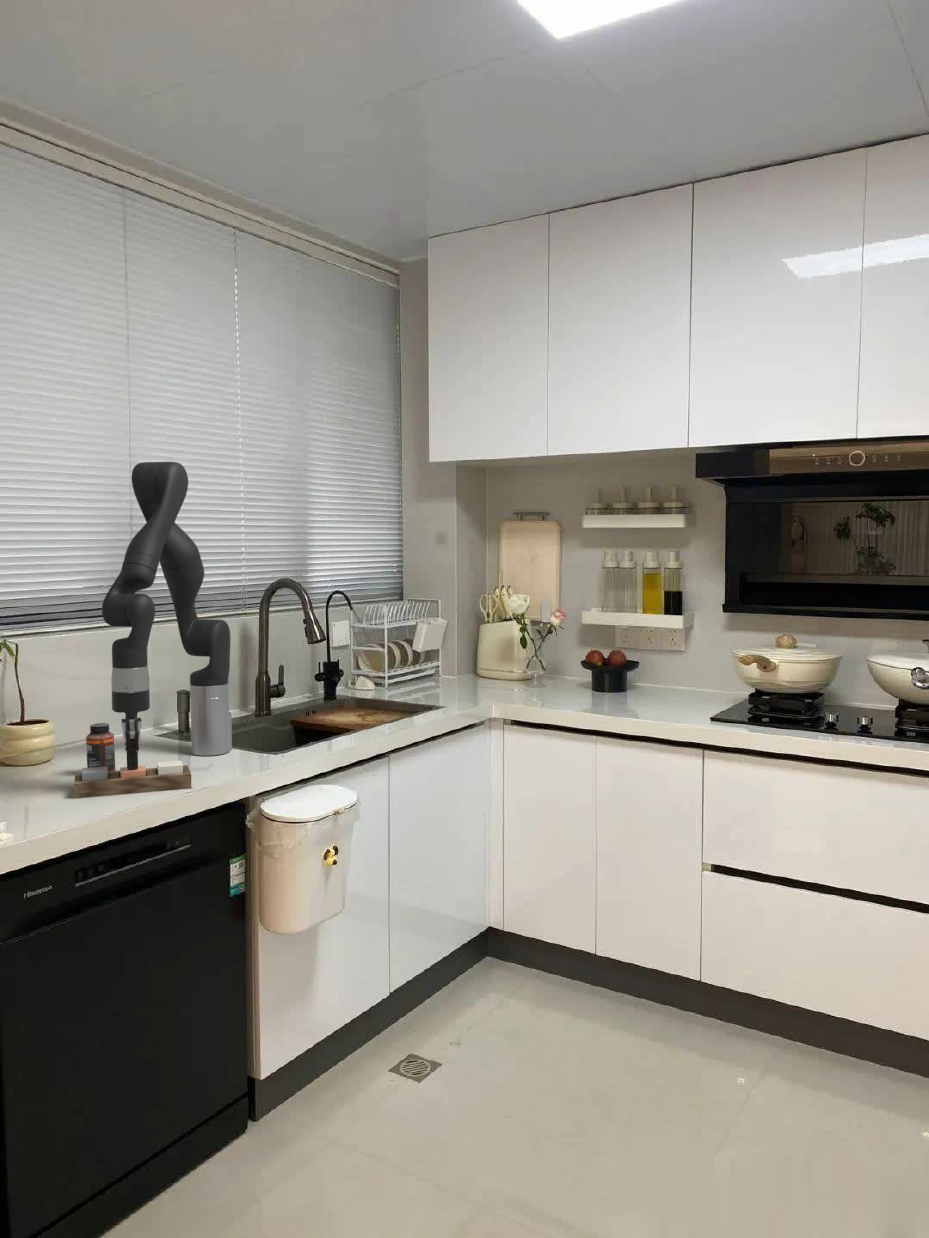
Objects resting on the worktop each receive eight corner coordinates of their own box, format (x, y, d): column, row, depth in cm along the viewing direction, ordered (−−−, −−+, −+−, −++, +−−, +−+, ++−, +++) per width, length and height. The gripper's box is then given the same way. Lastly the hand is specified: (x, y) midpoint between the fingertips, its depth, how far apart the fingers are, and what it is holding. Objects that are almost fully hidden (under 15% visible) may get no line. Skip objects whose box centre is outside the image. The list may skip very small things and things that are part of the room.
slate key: (107, 776, 202) (107, 766, 201) (108, 781, 197) (107, 771, 197) (82, 778, 200) (82, 768, 200) (82, 783, 195) (81, 773, 195)
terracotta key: (145, 775, 204) (144, 765, 204) (146, 780, 200) (145, 770, 199) (120, 777, 202) (120, 767, 202) (120, 783, 198) (120, 772, 198)
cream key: (181, 770, 207) (181, 760, 207) (183, 775, 202) (182, 765, 202) (157, 772, 205) (157, 762, 205) (158, 777, 200) (158, 767, 200)
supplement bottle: (119, 770, 217) (117, 721, 216) (110, 776, 211) (108, 726, 210) (92, 770, 217) (91, 722, 216) (83, 777, 211) (81, 726, 210)
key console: (187, 778, 209) (187, 765, 209) (191, 788, 201) (191, 774, 201) (75, 787, 201) (75, 774, 201) (74, 798, 193) (73, 783, 193)
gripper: (111, 684, 204) (113, 764, 206) (111, 693, 192) (114, 777, 193) (147, 683, 207) (149, 761, 208) (150, 691, 195) (152, 774, 196)
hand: (132, 769), depth 201 cm, fingers closed
